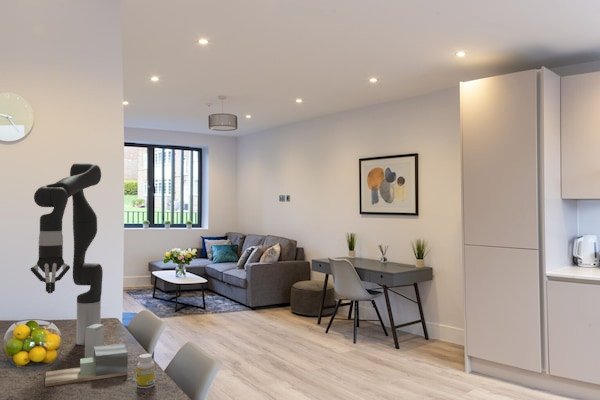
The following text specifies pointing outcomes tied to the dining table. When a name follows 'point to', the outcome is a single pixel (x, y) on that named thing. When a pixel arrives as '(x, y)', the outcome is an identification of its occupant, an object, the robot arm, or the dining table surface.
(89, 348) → the skincare box
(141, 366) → the supplement bottle
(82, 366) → the grey-green rectangular block
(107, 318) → the dining table surface
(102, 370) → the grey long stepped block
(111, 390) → the dining table surface
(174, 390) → the dining table surface
